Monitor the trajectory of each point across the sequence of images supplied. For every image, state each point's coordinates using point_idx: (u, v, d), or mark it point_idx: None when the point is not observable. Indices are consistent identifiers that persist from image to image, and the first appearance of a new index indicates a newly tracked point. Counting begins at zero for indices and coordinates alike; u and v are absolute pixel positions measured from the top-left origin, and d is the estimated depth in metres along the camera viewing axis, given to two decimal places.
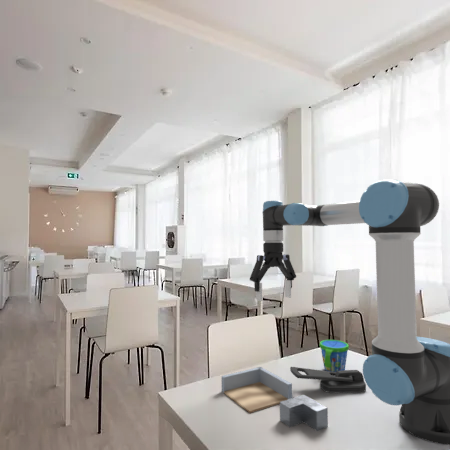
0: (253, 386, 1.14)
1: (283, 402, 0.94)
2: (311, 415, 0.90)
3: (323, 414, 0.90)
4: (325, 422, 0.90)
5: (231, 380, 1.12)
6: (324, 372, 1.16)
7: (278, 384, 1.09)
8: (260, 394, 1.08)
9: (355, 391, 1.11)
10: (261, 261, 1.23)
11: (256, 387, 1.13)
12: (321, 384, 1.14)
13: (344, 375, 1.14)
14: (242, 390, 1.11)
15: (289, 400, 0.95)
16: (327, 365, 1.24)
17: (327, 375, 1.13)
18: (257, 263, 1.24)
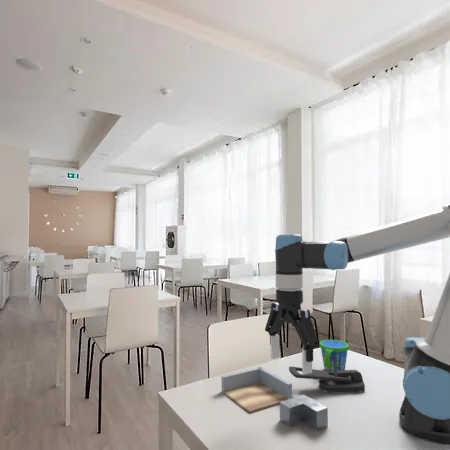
0: (253, 386, 1.14)
1: (283, 402, 0.94)
2: (311, 415, 0.90)
3: (323, 414, 0.90)
4: (325, 422, 0.90)
5: (231, 380, 1.12)
6: (322, 371, 1.16)
7: (278, 384, 1.09)
8: (260, 394, 1.08)
9: (354, 391, 1.11)
10: (272, 310, 1.01)
11: (256, 387, 1.13)
12: (320, 384, 1.14)
13: (343, 375, 1.14)
14: (242, 390, 1.11)
15: (289, 400, 0.95)
16: (327, 365, 1.24)
17: (326, 375, 1.13)
18: None
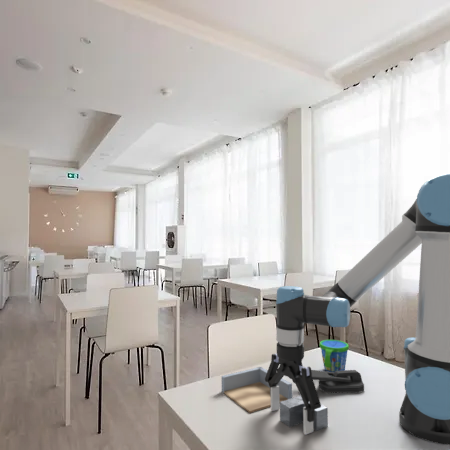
0: (253, 386, 1.14)
1: (283, 402, 0.94)
2: None
3: (323, 414, 0.90)
4: (325, 422, 0.90)
5: (231, 380, 1.12)
6: (322, 372, 1.15)
7: (278, 384, 1.09)
8: (260, 394, 1.08)
9: (353, 391, 1.11)
10: (272, 361, 0.99)
11: (256, 387, 1.13)
12: (319, 384, 1.14)
13: (342, 375, 1.14)
14: (242, 390, 1.11)
15: (289, 400, 0.95)
16: (327, 365, 1.24)
17: (325, 375, 1.12)
18: None
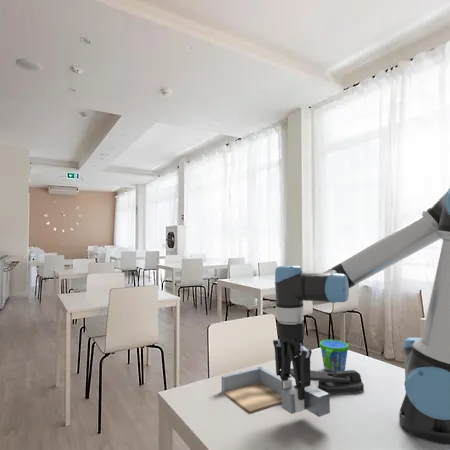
0: (253, 386, 1.14)
1: (285, 389, 0.94)
2: (313, 401, 0.90)
3: (325, 400, 0.90)
4: (327, 408, 0.90)
5: (231, 380, 1.12)
6: (321, 372, 1.15)
7: (278, 384, 1.09)
8: (260, 394, 1.08)
9: (353, 391, 1.10)
10: (275, 348, 0.98)
11: (256, 387, 1.13)
12: (319, 385, 1.13)
13: (342, 376, 1.13)
14: (242, 390, 1.11)
15: (291, 387, 0.95)
16: (327, 365, 1.24)
17: (325, 376, 1.12)
18: None
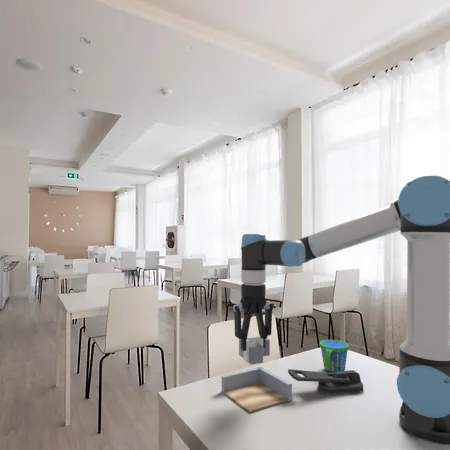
0: (253, 386, 1.14)
1: (252, 346, 1.02)
2: None
3: None
4: None
5: (231, 380, 1.12)
6: (321, 373, 1.14)
7: (278, 384, 1.09)
8: (260, 394, 1.08)
9: (353, 392, 1.10)
10: (238, 313, 1.01)
11: (256, 387, 1.13)
12: (319, 386, 1.12)
13: (342, 376, 1.13)
14: (242, 390, 1.11)
15: None
16: (327, 365, 1.24)
17: (325, 377, 1.11)
18: (235, 316, 1.02)
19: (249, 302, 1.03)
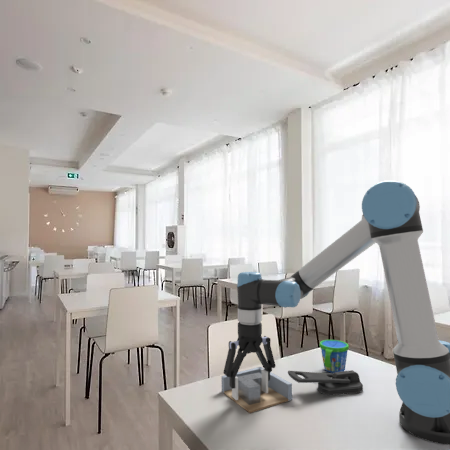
0: None
1: (249, 386, 1.03)
2: (260, 383, 1.09)
3: None
4: None
5: None
6: (321, 374, 1.14)
7: (278, 384, 1.09)
8: (260, 394, 1.08)
9: (353, 392, 1.10)
10: (233, 350, 1.02)
11: None
12: (319, 387, 1.12)
13: (341, 376, 1.13)
14: None
15: (246, 383, 1.05)
16: (327, 365, 1.24)
17: (325, 377, 1.11)
18: (229, 352, 1.02)
19: (247, 341, 1.04)
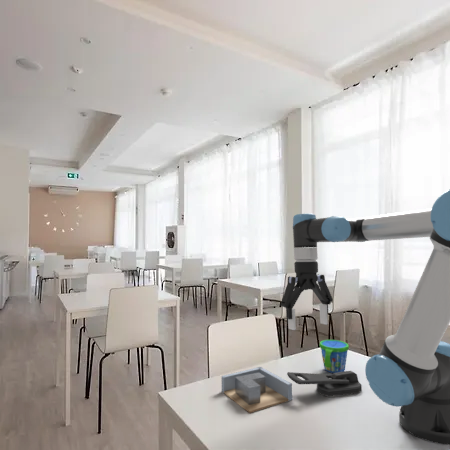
0: None
1: (249, 386, 1.03)
2: (260, 383, 1.09)
3: None
4: None
5: (231, 380, 1.12)
6: (320, 375, 1.13)
7: (278, 384, 1.09)
8: (260, 394, 1.08)
9: (352, 393, 1.10)
10: (293, 284, 1.07)
11: None
12: (319, 388, 1.11)
13: (340, 377, 1.12)
14: None
15: (246, 383, 1.05)
16: (327, 365, 1.24)
17: (325, 378, 1.10)
18: (289, 286, 1.07)
19: (305, 277, 1.09)
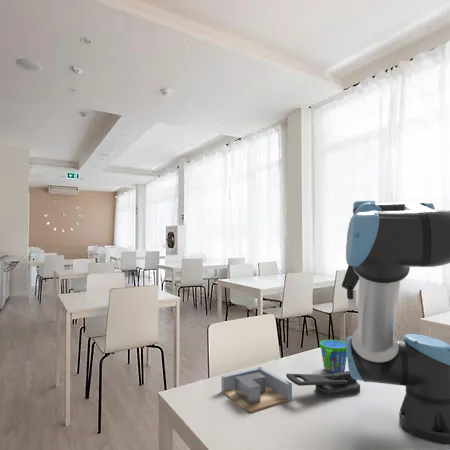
0: None
1: (249, 386, 1.03)
2: (260, 383, 1.09)
3: None
4: None
5: (231, 380, 1.12)
6: (319, 376, 1.12)
7: (278, 384, 1.09)
8: (260, 394, 1.08)
9: (351, 393, 1.09)
10: None
11: None
12: (318, 389, 1.10)
13: (339, 378, 1.12)
14: None
15: (246, 383, 1.05)
16: (327, 365, 1.24)
17: (324, 379, 1.09)
18: (350, 268, 1.14)
19: None
